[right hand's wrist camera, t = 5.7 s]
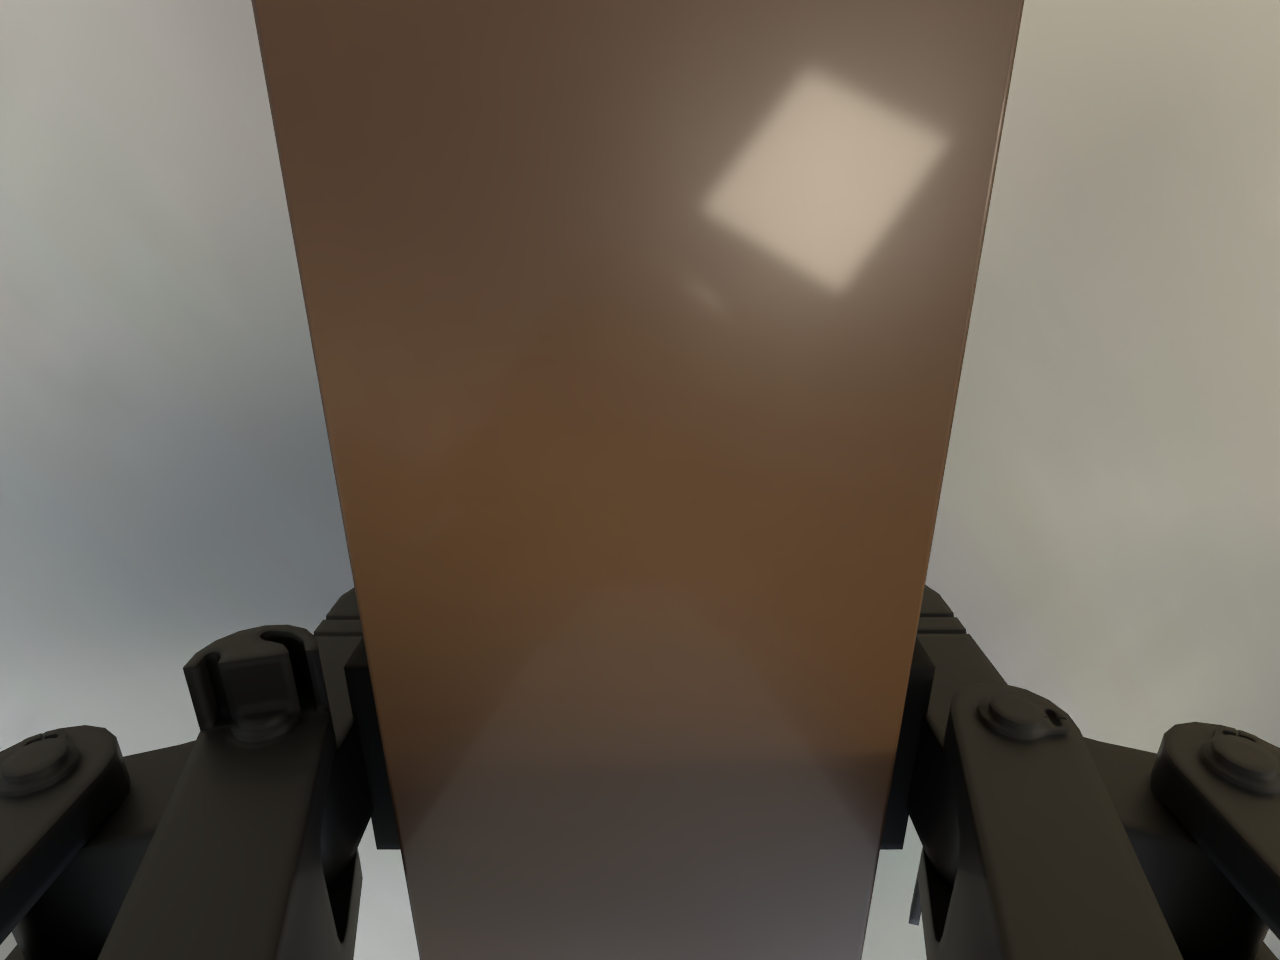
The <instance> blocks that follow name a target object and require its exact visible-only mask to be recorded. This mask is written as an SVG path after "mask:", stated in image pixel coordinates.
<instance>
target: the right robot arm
mask: <svg viewBox="0 0 1280 960" xmlns="http://www.w3.org/2000/svg"><path fill="white" fill-rule="evenodd" d="M183 670H184V674H185V677H186V681H187V685H188V688H189V692H190V695H191V699H192V702H193V706H194V709H195V713H196V716H197V720H198V724H199V727H200V733H199V735H198V738H197V740H195V741H192V742H188V743H185V744H181V745H176V746H172V747H167V748H162V749H158V750H153V751H148V752H144V753H139V754H134V755H130V756H125V757H123V756H122V753H121V750H120V747H119V744H118V741H117V738H116V737H115V736H114V735H113V734H112V733H111V732H109V731H108V730H107V729H106V728H101V727H94V726H87V725H83V726H75V727H67V728H59V729H56V730H52V731H48V732H45V733H43V734H38V735H35V736H32V737H29V738H27V739H25V740H23V741H22V742H20V743H18V744H16V745H14V746H11V747H9V748H7V749H5V750H3V751H1V752H0V945H1V943H2V942H3V941H4V940H5V939H6V937H7V936H8V935H9V934H10V933H11V932H12V933H13V936H14V938H15V940H16V942H17V946H16V947H15V948H14V949H13V950H12V952H11V953H10V954H9V955H8V957H7V958H6V959H5V960H353V957H354V949H355V940H356V931H357V922H358V914H359V905H360V896H361V887H362V871H361V864H360V859H359V853H358V845H359V843H360V841H361V838H362V836H363V834H364V831H365V829H366V827H367V825H368V822H369V820H370V818H371V819H372V825H373V830H374V836H375V841H376V846H377V849H401V848H400V843H399V837H398V831H397V825H396V820H395V814H394V808H393V803H392V797H391V791H390V786H389V780H388V774H387V768H386V763H385V757H384V751H383V746H382V740H381V734H380V729H379V723H378V717H377V712H376V706H375V700H374V694H373V689H372V683H371V677H370V672H369V666H368V660H367V655H366V649H365V643H364V638H363V632H362V626H361V620H360V615H359V609H358V603H357V598H356V592H355V587H354V588H353V589H351V590H350V591H348V592H347V593H345V594H344V595H342V596H341V597H340V598H339V599H338V601H337V602H336V603H335V605H334V606H333V607H332V609H331V610H330V611H329V613H328V614H327V615H326V620H323V621H322V622H321V623H320V625H319V626H318V627H317V629H316V630H315V631H314V635H313V634H311V633H310V632H309V631H308V630H306V629H304V628H300V627H295V626H291V625H265V626H260V627H256V628H251V629H247V630H242V631H239V632H236V633H234V634H231V635H229V636H226V637H224V638H221V639H219V640H216V641H214V642H213V643H211V644H210V645H208V646H207V647H205V648H203V649H202V650H200V651H199V652H197V653H196V654H195V655H194V656H193V657H192V658H191V659H190V660H189V662H188V663H187V664H186V665H185V666H184V667H183ZM909 815H910V818H911V820H912V822H913V825H914V827H915V829H916V831H917V834H918V836H919V838H920V841H921V843H922V845H923V848H922V853H921V859H920V864H919V869H918V874H917V879H916V884H915V889H914V894H913V899H912V904H911V910H910V917H909V923H910V924H914V925H919V920H920V915H921V912H922V920H923V929H924V938H925V947H926V955H927V960H1279V959H1278V958H1277V957H1276V956H1275V955H1274V954H1273V953H1272V952H1271V950H1270V949H1269V948H1268V947H1267V946H1266V944H1265V943H1264V942H1263V940H1264V938H1265V936H1266V934H1267V932H1268V929H1269V928H1270V929H1271V930H1272V932H1273V933H1274V934H1275V935H1276V936H1277V937H1278V939H1279V940H1280V748H1278V747H1276V746H1274V745H1272V744H1270V743H1268V742H1266V741H1264V740H1262V739H1260V738H1258V737H1257V736H1254V735H1252V734H1250V733H1247V732H1244V731H1241V730H1239V731H1238V730H1236V729H1235V728H1230V727H1226V726H1222V725H1216V724H1208V723H1200V722H1191V723H1184V724H1177V725H1174V726H1173V727H1172V728H1171V729H1169V730H1168V731H1167V732H1166V733H1164V736H1163V739H1162V742H1161V745H1160V748H1159V751H1158V754H1156V753H1151V752H1146V751H1142V750H1137V749H1132V748H1128V747H1123V746H1118V745H1113V744H1109V743H1104V742H1099V741H1096V740H1092V739H1088V738H1085V737H1083V736H1082V734H1081V732H1080V730H1079V728H1078V727H1077V726H1076V724H1075V723H1074V722H1073V720H1072V719H1071V718H1070V716H1069V715H1068V714H1067V713H1066V712H1064V711H1063V710H1062V709H1060V708H1059V707H1058V706H1056V705H1055V704H1054V703H1052V702H1051V701H1049V700H1048V699H1045V698H1043V697H1041V696H1039V695H1037V694H1035V693H1032V692H1030V691H1028V690H1026V689H1022V688H1018V687H1014V686H1010V685H1007V683H1006V682H1005V681H1004V679H1003V678H1002V677H1001V675H1000V674H999V673H998V671H997V670H996V669H995V667H994V666H993V665H992V663H991V662H990V661H989V659H988V658H987V657H986V655H985V654H984V653H983V652H982V650H981V649H980V648H979V646H978V645H977V644H976V642H975V641H974V640H973V638H972V637H971V636H970V634H966V629H965V628H964V626H963V625H962V624H961V622H960V621H959V620H958V619H957V617H954V613H953V612H952V611H951V609H950V608H949V607H948V605H947V604H946V603H945V601H944V600H943V599H942V597H941V596H940V595H939V594H938V593H937V592H935V591H934V590H932V589H931V588H929V587H928V586H926V585H925V587H924V593H923V599H922V604H921V610H920V616H919V622H918V628H917V634H916V640H915V646H914V651H913V657H912V663H911V669H910V675H909V681H908V687H907V693H906V699H905V704H904V710H903V716H902V722H901V728H900V734H899V740H898V746H897V751H896V757H895V763H894V769H893V775H892V781H891V787H890V793H889V799H888V804H887V810H886V816H885V822H884V828H883V834H882V840H881V846H880V849H903V843H904V838H905V832H906V827H907V821H908V816H909Z"/></svg>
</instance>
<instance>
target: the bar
mask: <svg viewBox="0 0 1280 960" xmlns="http://www.w3.org/2000/svg"><path fill="white" fill-rule="evenodd" d="M252 5H253V11H254V17H255V23H256V28H257V34H258V40H259V45H260V51H261V57H262V62H263V68H264V74H265V80H266V85H267V91H268V97H269V102H270V108H271V114H272V119H273V125H274V131H275V136H276V142H277V148H278V154H279V159H280V165H281V171H282V176H283V182H284V188H285V193H286V199H287V205H288V210H289V216H290V222H291V228H292V233H293V239H294V245H295V250H296V256H297V262H298V267H299V273H300V279H301V284H302V290H303V296H304V302H305V307H306V313H307V319H308V324H309V330H310V336H311V341H312V347H313V353H314V359H315V364H316V370H317V376H318V381H319V387H320V393H321V398H322V404H323V410H324V415H325V421H326V427H327V433H328V438H329V444H330V450H331V455H332V461H333V467H334V472H335V478H336V484H337V489H338V495H339V501H340V507H341V512H342V518H343V524H344V529H345V535H346V541H347V546H348V552H349V558H350V564H351V569H352V575H353V581H354V586H355V592H356V598H357V603H358V609H359V615H360V620H361V626H362V632H363V638H364V643H365V649H366V655H367V660H368V666H369V672H370V677H371V683H372V689H373V694H374V700H375V706H376V712H377V717H378V723H379V729H380V734H381V740H382V746H383V751H384V757H385V763H386V768H387V774H388V780H389V786H390V791H391V797H392V803H393V808H394V814H395V820H396V825H397V831H398V837H399V843H400V848H401V854H402V860H403V865H404V871H405V877H406V882H407V888H408V894H409V899H410V905H411V911H412V917H413V922H414V928H415V934H416V939H417V945H418V951H419V956H420V960H861V957H862V951H863V946H864V940H865V934H866V928H867V922H868V916H869V910H870V904H871V899H872V893H873V887H874V881H875V875H876V869H877V863H878V857H879V851H880V846H881V840H882V834H883V828H884V822H885V816H886V810H887V804H888V799H889V793H890V787H891V781H892V775H893V769H894V763H895V757H896V751H897V746H898V740H899V734H900V728H901V722H902V716H903V710H904V704H905V699H906V693H907V687H908V681H909V675H910V669H911V663H912V657H913V651H914V646H915V640H916V634H917V628H918V622H919V616H920V610H921V604H922V599H923V593H924V587H925V581H926V575H927V569H928V563H929V557H930V552H931V546H932V540H933V534H934V528H935V522H936V516H937V510H938V504H939V499H940V493H941V487H942V481H943V475H944V469H945V463H946V457H947V452H948V446H949V440H950V434H951V428H952V422H953V416H954V410H955V404H956V399H957V393H958V387H959V381H960V375H961V369H962V363H963V357H964V352H965V346H966V340H967V334H968V328H969V322H970V316H971V310H972V304H973V299H974V293H975V287H976V281H977V275H978V269H979V263H980V257H981V252H982V246H983V240H984V234H985V228H986V222H987V216H988V210H989V205H990V199H991V193H992V187H993V181H994V175H995V169H996V163H997V157H998V152H999V146H1000V140H1001V134H1002V128H1003V122H1004V116H1005V110H1006V105H1007V99H1008V93H1009V87H1010V81H1011V75H1012V69H1013V63H1014V57H1015V52H1016V46H1017V40H1018V34H1019V28H1020V22H1021V16H1022V10H1023V5H1024V0H252Z"/></svg>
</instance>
